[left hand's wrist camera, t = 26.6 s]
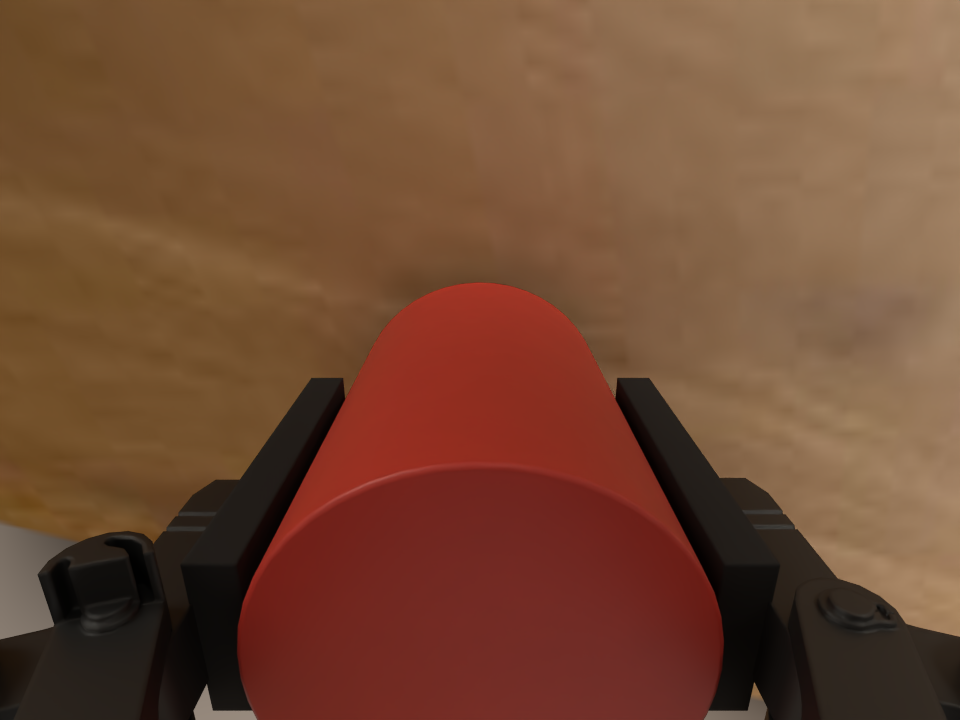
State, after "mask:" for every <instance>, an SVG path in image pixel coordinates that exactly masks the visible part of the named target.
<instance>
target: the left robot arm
mask: <svg viewBox="0 0 960 720" xmlns="http://www.w3.org/2000/svg"><path fill="white" fill-rule="evenodd" d="M344 401H345V393H344V382H343V378H311V380H310V381H309V382H308V384H307V385H306V387H305V388H304V390H303V391H302V392H301V394H300V395H299V397H298V398H297V399H296V401H295V402H294V404H293V405H292V407H291V408H290V409H289V411H288V412H287V414H286V415H285V416H284V418H283V419H282V421H281V422H280V424H279V425H278V426H277V428H276V429H275V431H274V432H273V434H272V435H271V436H270V438H269V439H268V441H267V442H266V443H265V445H264V446H263V448H262V449H261V451H260V452H259V453H258V455H257V456H256V458H255V459H254V460H253V462H252V463H251V465H250V466H249V468H248V469H247V470H246V472H245V473H244V475H243V476H242V478H241V479H240V480H215V481H213V482H212V483H210V484H209V485H207V486H206V487H204V488H203V489H201V490H200V491H198V492H197V493H195V494H194V495H193V496H192V497H191V498H190V499H189V500H188V502H187V503H186V504H185V505H184V507H183V508H182V509H181V510H180V512H179V515H178V516H176V517H175V518H174V519H173V520H172V522H171V523H170V524H169V525H168V527H167V530H166V531H163V533H162V534H161V535H160V536H159V538H158V539H157V540H156V541H155V543H154V544H153V542H152V541H151V540H150V539H149V538H148V537H146V536H145V535H144V534H141V533H135V532H130V531H124V532H112V533H106V534H102V535H99V536H95V537H92V538H88V539H85V540H83V541H81V542H79V543H77V544H75V545H72V546H70V547H68V548H66V549H65V550H63V551H62V552H61V553H59V554H58V555H56V556H55V557H53V558H52V559H51V560H49V561H48V562H47V564H46V565H45V566H44V567H43V568H42V570H41V571H40V572H39V573H38V577H39V580H40V583H41V586H42V589H43V592H44V595H45V598H46V601H47V604H48V607H49V610H50V613H51V616H52V619H53V622H54V627H51V628H48V629H44V630H40V631H36V632H31V633H27V634H23V635H18V636H14V637H10V638H5V639H1V640H0V720H195V716H194V712H193V710H194V708H195V706H196V704H197V702H198V700H199V698H200V696H201V694H202V692H203V690H204V688H205V686H206V684H207V686H208V691H209V695H210V699H211V704H212V708H213V710H214V711H216V710H217V711H219V710H220V711H224V710H226V711H233V710H235V711H238V710H239V711H241V710H252V708H251V706H250V704H249V702H248V700H247V697H246V694H245V691H244V687H243V684H242V681H241V677H240V670H239V664H238V657H237V638H238V623H239V619H240V614H241V609H242V604H243V601H244V598H245V596H246V593H247V591H248V588H249V586H250V583H251V581H252V578H253V576H254V574H255V572H256V570H257V568H258V567H259V565H260V563H261V561H262V559H263V557H264V555H265V553H266V551H267V549H268V547H269V545H270V543H271V542H272V540H273V538H274V536H275V534H276V532H277V530H278V528H279V526H280V524H281V522H282V520H283V518H284V516H285V515H286V513H287V511H288V509H289V507H290V505H291V503H292V501H293V499H294V497H295V495H296V493H297V491H298V490H299V488H300V486H301V484H302V482H303V480H304V478H305V476H306V474H307V472H308V470H309V468H310V466H311V465H312V463H313V461H314V459H315V457H316V455H317V453H318V451H319V449H320V447H321V445H322V443H323V441H324V439H325V438H326V436H327V434H328V432H329V430H330V428H331V426H332V424H333V422H334V420H335V418H336V416H337V414H338V413H339V411H340V409H341V407H342V405H343V403H344ZM616 402H617V404H618V405H619V407H620V409H621V411H622V413H623V415H624V417H625V419H626V421H627V423H628V425H629V427H630V429H631V431H632V433H633V434H634V436H635V438H636V440H637V442H638V444H639V446H640V448H641V450H642V452H643V454H644V456H645V458H646V460H647V461H648V463H649V465H650V467H651V469H652V471H653V473H654V475H655V477H656V479H657V481H658V483H659V485H660V487H661V489H662V490H663V492H664V494H665V496H666V498H667V500H668V502H669V504H670V506H671V508H672V510H673V512H674V514H675V516H676V517H677V519H678V521H679V523H680V525H681V527H682V529H683V531H684V533H685V535H686V537H687V539H688V541H689V543H690V545H691V546H692V548H693V550H694V552H695V554H696V556H697V558H698V560H699V562H700V564H701V566H702V568H703V570H704V572H705V574H706V576H707V578H708V580H709V582H710V584H711V586H712V588H713V590H714V593H715V596H716V600H717V603H718V607H719V610H720V614H721V618H722V628H723V637H724V649H723V663H722V671H721V675H720V679H719V683H718V687H717V691H716V694H715V697H714V699H713V701H712V703H711V706H710V708H709V710H708V711H747V710H748V707H749V702H750V698H751V693H752V689H753V685H754V682H755V684H756V686H757V688H758V690H759V692H760V694H761V696H762V698H763V700H764V702H765V704H766V706H767V712H766V716H765V720H960V637H958V636H953V635H949V634H945V633H940V632H936V631H931V630H927V629H923V628H918V627H915V626H911V625H908V624H906V623H905V622H904V621H903V619H902V618H901V616H900V615H899V613H898V612H897V611H896V609H895V608H893V607H892V606H891V605H890V604H889V603H887V602H886V601H885V600H884V599H882V598H881V597H880V596H878V595H877V594H875V593H873V592H871V591H869V590H867V589H865V588H863V587H861V586H859V585H856V584H853V583H850V582H847V581H843V580H840V579H837V577H836V576H835V575H834V574H833V572H832V571H831V570H830V569H829V567H828V566H827V565H826V564H825V563H824V561H823V560H822V559H821V558H820V556H819V555H818V554H817V553H816V551H815V550H814V549H813V548H812V547H811V545H810V544H809V543H808V542H807V540H806V539H805V538H804V537H803V535H802V534H801V533H800V532H799V531H798V529H795V527H794V524H793V523H792V522H791V521H790V519H789V518H788V517H787V516H786V515H785V514H783V513H782V512H783V511H782V510H781V508H780V507H779V506H778V505H777V503H776V502H775V501H774V500H773V499H772V497H771V496H770V495H769V494H768V493H767V492H766V491H764V490H763V489H761V488H760V487H758V486H756V485H755V484H753V483H752V482H750V481H749V480H747V479H746V478H719V477H718V475H717V474H716V472H715V471H714V470H713V468H712V467H711V465H710V464H709V462H708V461H707V460H706V458H705V457H704V455H703V454H702V452H701V451H700V450H699V448H698V447H697V445H696V444H695V443H694V441H693V440H692V438H691V437H690V435H689V434H688V433H687V431H686V430H685V428H684V427H683V426H682V424H681V423H680V421H679V420H678V418H677V417H676V416H675V414H674V413H673V411H672V410H671V409H670V407H669V406H668V404H667V403H666V401H665V400H664V399H663V397H662V396H661V394H660V393H659V391H658V390H657V389H656V387H655V386H654V384H653V383H652V382H651V380H650V379H649V378H617V389H616Z"/></svg>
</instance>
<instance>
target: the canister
mask: <svg viewBox="0 0 960 720" xmlns="http://www.w3.org/2000/svg"><path fill="white" fill-rule="evenodd" d="M723 649H724V637H723V628H722V618H721V614H720V610H719V607H718V603H717V600H716V596H715V593H714V590H713V588H712V586H711V584H710V582H709V580H708V578H707V576H706V574H705V572H704V570H703V568H702V566H701V564H700V562H699V560H698V558H697V556H696V554H695V552H694V550H693V548H692V546H691V545H690V543H689V541H688V539H687V537H686V535H685V533H684V531H683V529H682V527H681V525H680V523H679V521H678V519H677V517H676V516H675V514H674V512H673V510H672V508H671V506H670V504H669V502H668V500H667V498H666V496H665V494H664V492H663V490H662V489H661V487H660V485H659V483H658V481H657V479H656V477H655V475H654V473H653V471H652V469H651V467H650V465H649V463H648V461H647V460H646V458H645V456H644V454H643V452H642V450H641V448H640V446H639V444H638V442H637V440H636V438H635V436H634V434H633V433H632V431H631V429H630V427H629V425H628V423H627V421H626V419H625V417H624V415H623V413H622V411H621V409H620V407H619V405H618V404H617V402H616V400H615V398H614V396H613V394H612V392H611V390H610V388H609V386H608V384H607V382H606V380H605V378H604V377H603V375H602V373H601V371H600V369H599V367H598V365H597V363H596V361H595V359H594V357H593V355H592V353H591V351H590V349H589V348H588V346H587V344H586V342H585V340H584V338H583V337H582V335H581V334H580V332H579V331H578V329H577V328H576V327H575V326H574V325H573V323H572V322H571V321H570V320H569V319H568V318H567V317H566V316H565V315H564V314H563V313H562V312H560V311H559V310H558V309H557V308H556V307H554V306H553V305H552V304H550V303H548V302H547V301H545V300H544V299H542V298H540V297H538V296H536V295H534V294H532V293H529V292H527V291H525V290H522V289H518V288H515V287H512V286H507V285H501V284H495V283H467V284H459V285H454V286H450V287H445V288H442V289H439V290H437V291H434V292H431V293H429V294H427V295H425V296H423V297H421V298H419V299H417V300H415V301H414V302H412V303H411V304H410V305H408V306H407V307H405V308H404V309H403V310H401V311H400V312H399V313H398V314H397V315H396V316H395V317H394V318H393V319H392V320H391V321H390V322H389V323H388V324H387V326H386V327H385V328H384V329H383V331H382V332H381V333H380V335H379V337H378V338H377V340H376V342H375V343H374V345H373V347H372V349H371V351H370V353H369V355H368V357H367V359H366V361H365V362H364V364H363V366H362V368H361V370H360V372H359V374H358V376H357V378H356V380H355V382H354V384H353V386H352V387H351V389H350V391H349V393H348V395H347V397H346V399H345V401H344V403H343V405H342V407H341V409H340V411H339V413H338V414H337V416H336V418H335V420H334V422H333V424H332V426H331V428H330V430H329V432H328V434H327V436H326V438H325V439H324V441H323V443H322V445H321V447H320V449H319V451H318V453H317V455H316V457H315V459H314V461H313V463H312V465H311V466H310V468H309V470H308V472H307V474H306V476H305V478H304V480H303V482H302V484H301V486H300V488H299V490H298V491H297V493H296V495H295V497H294V499H293V501H292V503H291V505H290V507H289V509H288V511H287V513H286V515H285V516H284V518H283V520H282V522H281V524H280V526H279V528H278V530H277V532H276V534H275V536H274V538H273V540H272V542H271V543H270V545H269V547H268V549H267V551H266V553H265V555H264V557H263V559H262V561H261V563H260V565H259V567H258V568H257V570H256V572H255V574H254V576H253V578H252V581H251V583H250V586H249V588H248V591H247V593H246V596H245V598H244V601H243V604H242V609H241V614H240V619H239V623H238V638H237V657H238V664H239V670H240V677H241V681H242V684H243V687H244V691H245V694H246V697H247V700H248V702H249V704H250V706H251V708H252V710H253V712H254V714H255V716H256V718H257V720H704V718H705V717H706V715H707V713H708V710H709V708H710V706H711V703H712V701H713V699H714V697H715V694H716V691H717V687H718V683H719V679H720V675H721V671H722V663H723Z"/></svg>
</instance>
